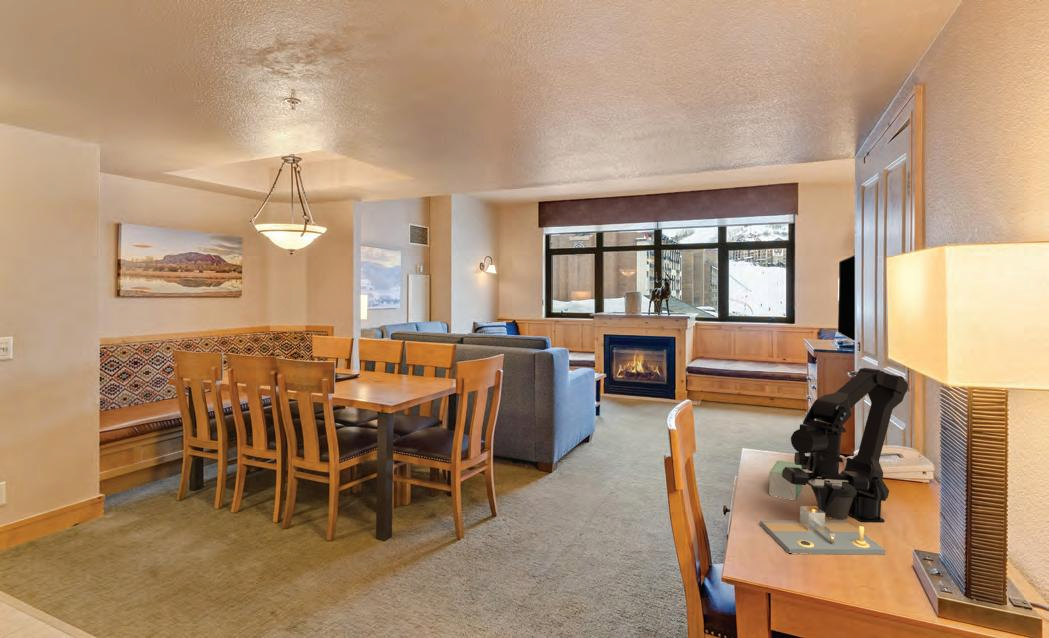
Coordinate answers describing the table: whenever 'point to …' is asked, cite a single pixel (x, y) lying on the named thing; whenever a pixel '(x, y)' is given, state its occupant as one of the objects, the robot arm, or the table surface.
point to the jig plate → (821, 538)
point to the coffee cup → (841, 503)
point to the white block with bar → (814, 520)
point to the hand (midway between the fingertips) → (822, 511)
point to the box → (783, 482)
